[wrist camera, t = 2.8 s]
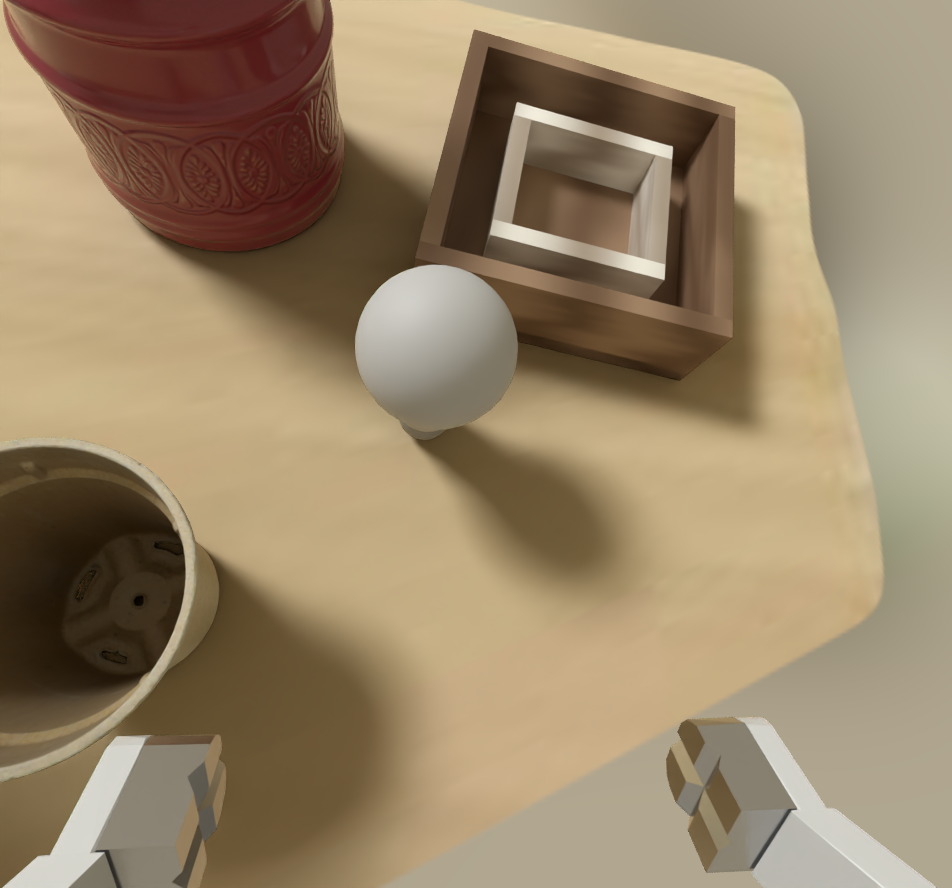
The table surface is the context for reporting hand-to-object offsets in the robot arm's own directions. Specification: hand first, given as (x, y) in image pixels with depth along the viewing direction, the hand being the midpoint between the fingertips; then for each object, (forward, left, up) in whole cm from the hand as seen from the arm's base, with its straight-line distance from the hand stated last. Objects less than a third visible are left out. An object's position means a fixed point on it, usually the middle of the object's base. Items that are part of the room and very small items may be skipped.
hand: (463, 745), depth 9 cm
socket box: (+4, +26, -15) cm, 30 cm away
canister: (-16, +25, -16) cm, 33 cm away
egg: (-2, +12, -16) cm, 20 cm away
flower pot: (-12, +1, -16) cm, 20 cm away
